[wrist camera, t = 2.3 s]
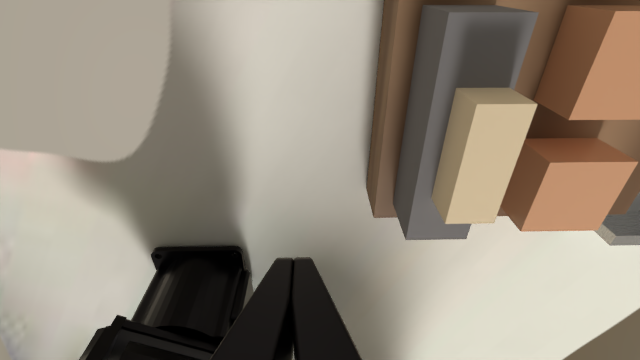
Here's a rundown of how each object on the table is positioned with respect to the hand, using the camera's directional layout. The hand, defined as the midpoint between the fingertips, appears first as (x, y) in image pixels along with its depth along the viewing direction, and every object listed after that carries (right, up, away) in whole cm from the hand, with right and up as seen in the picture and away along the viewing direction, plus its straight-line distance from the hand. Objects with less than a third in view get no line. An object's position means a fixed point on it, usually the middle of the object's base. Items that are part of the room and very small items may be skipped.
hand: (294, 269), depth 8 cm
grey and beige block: (+6, +5, +8) cm, 11 cm away
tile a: (+13, +3, +10) cm, 16 cm away
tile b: (+13, +8, +7) cm, 16 cm away
